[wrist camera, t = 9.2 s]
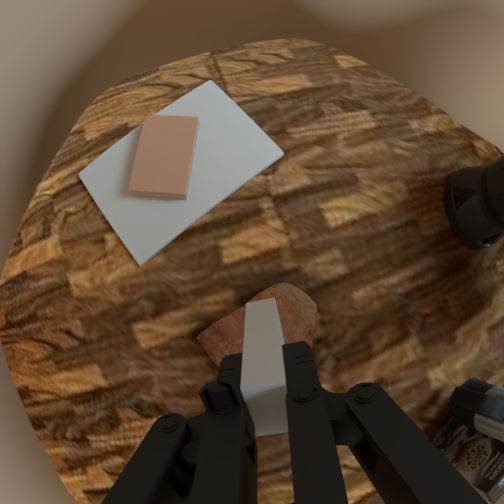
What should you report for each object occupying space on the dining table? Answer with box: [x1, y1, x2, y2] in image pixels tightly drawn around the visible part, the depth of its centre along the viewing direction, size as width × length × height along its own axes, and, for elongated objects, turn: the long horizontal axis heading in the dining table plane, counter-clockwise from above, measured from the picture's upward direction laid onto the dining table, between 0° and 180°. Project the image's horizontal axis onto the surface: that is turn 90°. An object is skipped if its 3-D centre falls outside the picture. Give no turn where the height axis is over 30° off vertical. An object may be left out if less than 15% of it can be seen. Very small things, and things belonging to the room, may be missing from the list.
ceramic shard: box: [197, 282, 317, 368], centre depth 40 cm, size 15×6×15 cm
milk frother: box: [432, 379, 504, 456], centre depth 34 cm, size 14×16×15 cm
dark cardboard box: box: [445, 426, 504, 504], centre depth 33 cm, size 9×6×16 cm
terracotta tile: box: [128, 115, 200, 199], centre depth 42 cm, size 2×8×12 cm
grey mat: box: [78, 80, 284, 266], centre depth 44 cm, size 26×18×1 cm
